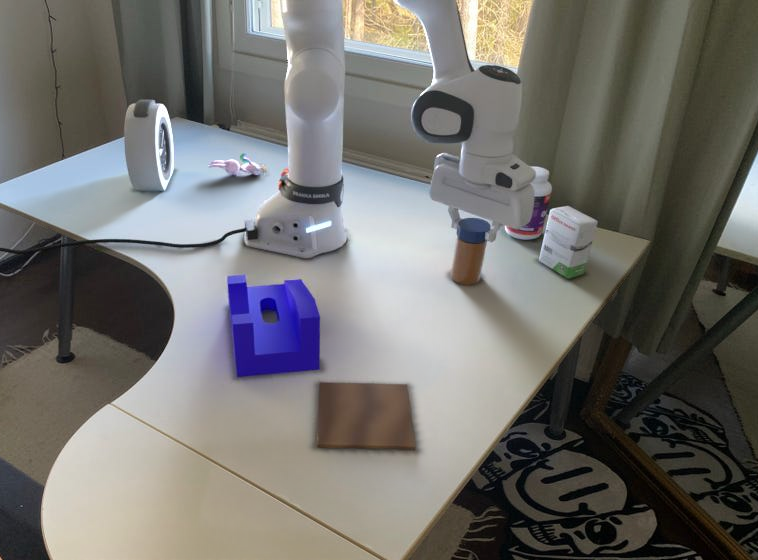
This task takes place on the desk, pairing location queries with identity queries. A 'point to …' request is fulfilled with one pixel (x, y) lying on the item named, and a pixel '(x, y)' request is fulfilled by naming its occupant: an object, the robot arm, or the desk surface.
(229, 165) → the rabbit figure
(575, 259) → the ink box
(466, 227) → the lid
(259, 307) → the bracket
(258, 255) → the desk surface
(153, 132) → the alarm clock
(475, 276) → the jar
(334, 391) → the coaster
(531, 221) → the pill bottle
